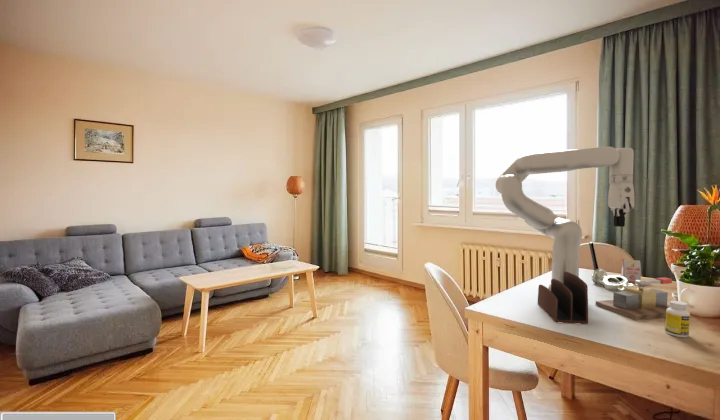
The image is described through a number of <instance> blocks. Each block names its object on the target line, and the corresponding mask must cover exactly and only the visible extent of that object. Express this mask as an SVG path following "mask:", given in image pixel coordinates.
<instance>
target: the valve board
mask: <svg viewBox="0 0 720 420" xmlns="http://www.w3.org/2000/svg"><path fill="white" fill-rule="evenodd" d="M595 306H597V307H599V308H603V309H605V310H607V311H611V312H613V313H616V314H619V315H621V316H623V317H627V318H629V319H631V318H632V320H635V321H642V320H654V319H661V318H666V310H667V308H669V307H671V306H670V304H667V306H664V307H656V308H651V309H631V310H625V309H622V308H619V307H616V306H613V299H607V300H596V301H595Z"/></svg>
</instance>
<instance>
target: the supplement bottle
mask: <svg viewBox="0 0 720 420" xmlns="http://www.w3.org/2000/svg"><path fill="white" fill-rule="evenodd" d="M669 305H670V306H671V307H669V308H667V310H666V317H665V325H664V326H665V327H664V328H665V329H664V330H665V333H666V334H668V335H670V336H673V337H678V338H688V337H689V335H690V325H691V324H690V323H691V314H690V311H689V310H687V309H688V306H689V305H688V303H687V302H684V301H681V300H670V301H669Z"/></svg>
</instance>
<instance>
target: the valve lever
mask: <svg viewBox="0 0 720 420" xmlns="http://www.w3.org/2000/svg"><path fill="white" fill-rule="evenodd" d="M634 284H635V286H636V285H637V286H638V285H640V286H644V287H646V286H647V285H655V284H660V285H661V284H662V285H666V284H673V278H670V277H666V276H664V277H655V278H654V279H644V280H643V279H641V280H635V282H634Z"/></svg>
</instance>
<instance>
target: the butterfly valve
mask: <svg viewBox="0 0 720 420" xmlns="http://www.w3.org/2000/svg"><path fill="white" fill-rule="evenodd" d="M588 246H589V249H590V255H591V259H592V260H591V261H592V265H593V266H592V267H593V270H594V271H593V272H592V274H591V281H592V282H593V283H594V284H603V285H604V289H606V290H608V291H614V292H620V291H625V289H626V288H628V287H634V284H633V283H632V282H628V281H627V279H626V278H625V277H622V276H621V275H608V274H607V272H606V271H605V269H603V268H600V267H599V265H598V261H597V255H596V251H595V246H594V242H593V241H589V242H588Z"/></svg>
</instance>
